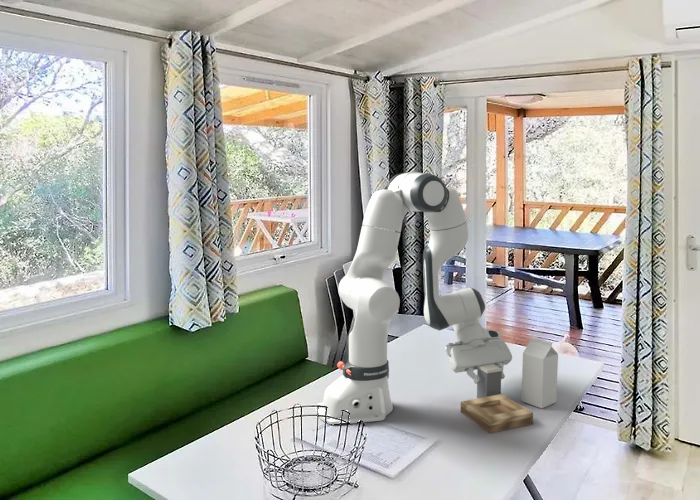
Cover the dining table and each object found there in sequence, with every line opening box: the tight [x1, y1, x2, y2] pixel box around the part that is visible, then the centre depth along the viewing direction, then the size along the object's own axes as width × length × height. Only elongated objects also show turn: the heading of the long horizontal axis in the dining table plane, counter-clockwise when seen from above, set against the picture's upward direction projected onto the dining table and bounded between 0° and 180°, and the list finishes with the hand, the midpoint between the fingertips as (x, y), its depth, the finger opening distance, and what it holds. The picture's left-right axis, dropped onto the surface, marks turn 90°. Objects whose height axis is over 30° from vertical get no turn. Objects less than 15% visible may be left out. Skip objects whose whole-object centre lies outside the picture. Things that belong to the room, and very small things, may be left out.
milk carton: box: [521, 337, 559, 409], centre depth 168 cm, size 7×7×19 cm
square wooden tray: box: [460, 393, 534, 434], centre depth 159 cm, size 14×14×3 cm
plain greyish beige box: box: [476, 364, 502, 398], centre depth 172 cm, size 5×5×10 cm
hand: (490, 380), depth 171 cm, fingers open, 7 cm apart
